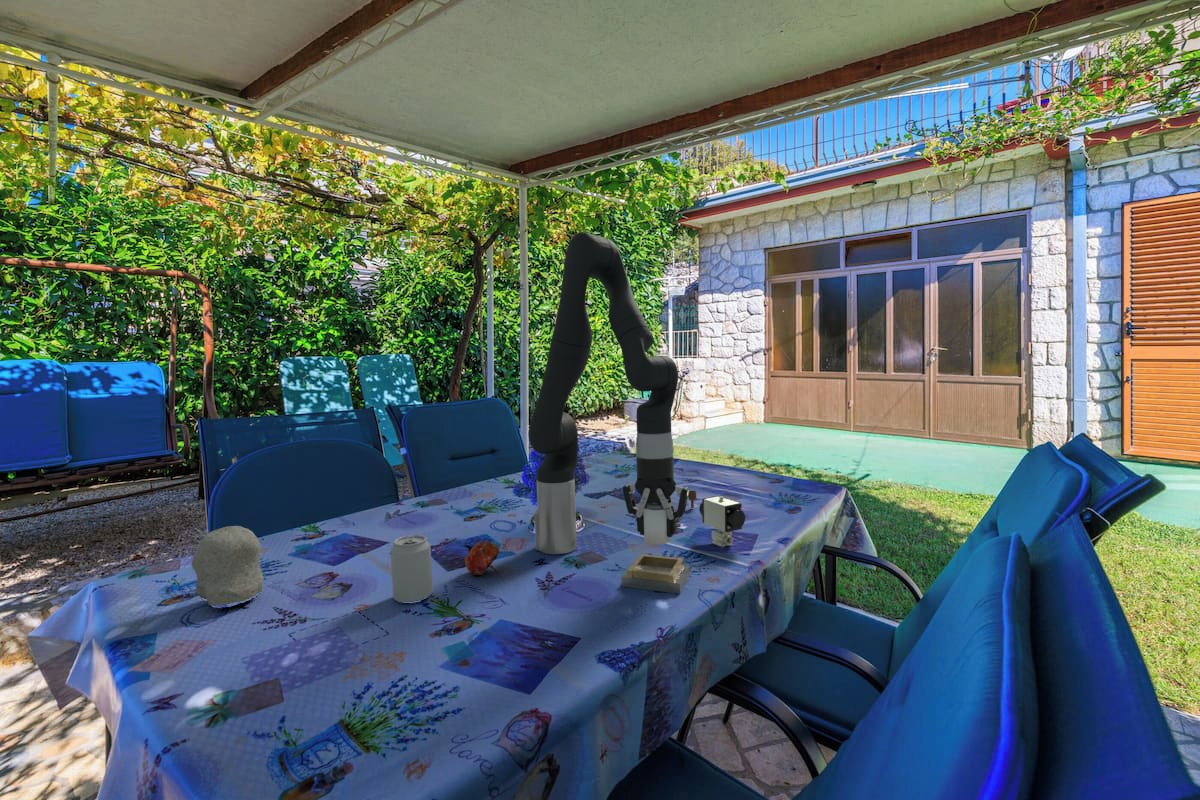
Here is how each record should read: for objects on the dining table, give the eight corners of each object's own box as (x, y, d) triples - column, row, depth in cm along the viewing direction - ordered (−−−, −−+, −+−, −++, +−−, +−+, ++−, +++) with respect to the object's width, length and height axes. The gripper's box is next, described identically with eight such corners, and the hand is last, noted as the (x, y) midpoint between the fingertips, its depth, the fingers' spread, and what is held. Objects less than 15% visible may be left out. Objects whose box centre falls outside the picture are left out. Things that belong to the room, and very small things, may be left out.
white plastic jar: (641, 543, 115) (640, 506, 115) (647, 535, 120) (646, 499, 120) (666, 545, 114) (665, 507, 113) (671, 537, 118) (671, 501, 118)
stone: (272, 598, 114) (267, 525, 112) (213, 621, 104) (206, 541, 103) (242, 587, 119) (236, 518, 118) (183, 608, 110) (177, 533, 109)
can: (391, 608, 108) (388, 547, 107) (394, 592, 115) (391, 535, 114) (432, 603, 110) (429, 542, 109) (433, 587, 117) (430, 531, 116)
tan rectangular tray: (621, 586, 115) (621, 569, 115) (635, 568, 124) (635, 553, 124) (680, 593, 111) (679, 576, 110) (690, 574, 120) (689, 558, 120)
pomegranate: (502, 577, 127) (470, 548, 129) (517, 555, 125) (484, 526, 126) (483, 593, 121) (450, 562, 123) (498, 571, 118) (464, 539, 120)
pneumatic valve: (731, 553, 132) (730, 503, 131) (698, 539, 142) (698, 493, 141) (748, 549, 135) (748, 499, 134) (715, 535, 145) (715, 489, 144)
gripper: (615, 456, 114) (618, 538, 116) (685, 458, 109) (687, 543, 111) (626, 449, 121) (628, 527, 123) (693, 451, 116) (694, 532, 118)
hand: (656, 534), depth 117 cm, fingers closed on white plastic jar, 5 cm apart
